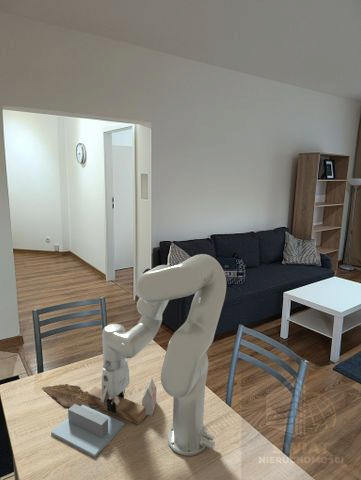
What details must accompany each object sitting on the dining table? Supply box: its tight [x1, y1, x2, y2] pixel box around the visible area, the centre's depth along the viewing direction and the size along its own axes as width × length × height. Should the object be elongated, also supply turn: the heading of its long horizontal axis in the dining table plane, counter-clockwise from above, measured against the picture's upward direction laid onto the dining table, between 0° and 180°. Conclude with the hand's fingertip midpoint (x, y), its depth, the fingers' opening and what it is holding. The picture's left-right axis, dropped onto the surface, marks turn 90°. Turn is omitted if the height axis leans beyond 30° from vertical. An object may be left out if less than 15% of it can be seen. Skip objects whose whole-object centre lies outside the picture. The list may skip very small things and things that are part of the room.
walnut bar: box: [87, 386, 146, 425], centre depth 115 cm, size 22×4×4 cm, turn 63°
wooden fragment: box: [41, 383, 99, 409], centre depth 121 cm, size 26×11×1 cm, turn 65°
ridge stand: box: [50, 404, 125, 458], centre depth 105 cm, size 18×14×6 cm
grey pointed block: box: [141, 377, 157, 416], centre depth 116 cm, size 4×7×10 cm, turn 173°
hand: (115, 406), depth 115 cm, fingers closed on walnut bar, 4 cm apart
